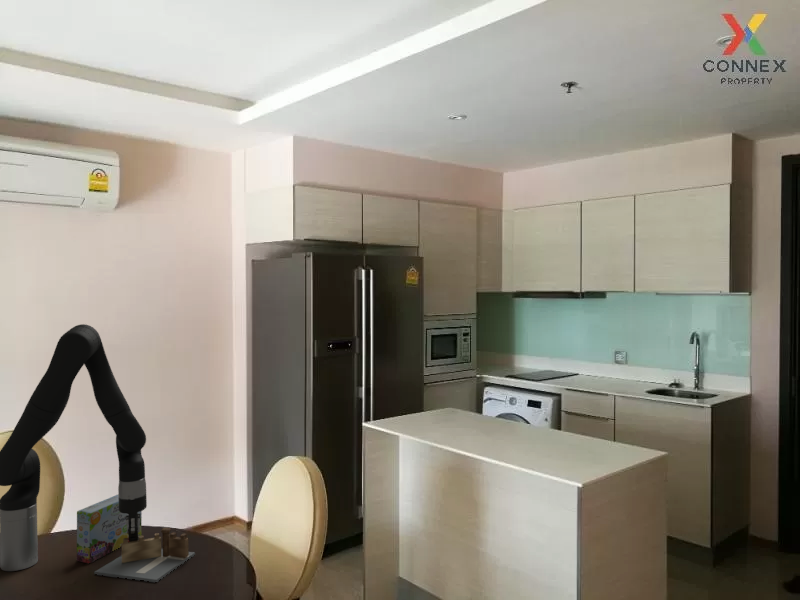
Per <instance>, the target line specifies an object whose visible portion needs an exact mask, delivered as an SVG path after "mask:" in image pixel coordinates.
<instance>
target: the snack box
mask: <svg viewBox="0 0 800 600" xmlns="http://www.w3.org/2000/svg"><path fill="white" fill-rule="evenodd" d="M142 512H143V511H139V512H138V514H140V532H139V533H138V535H139V536H142V521H143V520H142V518H143V517H142V514H143V513H142ZM126 515H129V514H127V513H125V514H124V513H121V512H120V511H119V495H118V494H116V495H114V496H110V497H109V498H106V499H103V500H101V501H98V502H96V503H94V504H91V505H89V506H87V507H84V508H82V509H78V510H77V511H76V561H77V562H81V563H86V564H89V563H90V564H92V563H93V562H95V560H96V561H97V559H98V560H100V558H103V557H105V556H107V555H108V553H109V554H110V552H111V553H112V551H113V552H115V551H117V550H119V549H120V547H121V546H122V544H121V543H123V539H124V538H129V535H128V534H127V525H126ZM139 536H138V537H139ZM128 542H130V541H129V540H128ZM118 548H119V549H118ZM121 548H122V547H121ZM116 549H117V550H116ZM114 550H115V551H114ZM106 554H107V555H106Z"/></svg>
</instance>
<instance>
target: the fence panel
mask: <svg viewBox="0 0 800 600" xmlns="http://www.w3.org/2000/svg"><path fill="white" fill-rule="evenodd" d="M121 544H122V547H121V556H122V563H125V562H131V561H136V560H142V559H148V558H154V557H159V556H161V549H162V536H160V533H159V532H156V533H154V537H150V538H145V537H144V535H141V536H139V539H138V540H137V541H131V542H128V538H124V539H123V543H121Z"/></svg>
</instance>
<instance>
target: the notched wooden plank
mask: <svg viewBox="0 0 800 600" xmlns="http://www.w3.org/2000/svg"><path fill="white" fill-rule="evenodd" d="M160 530H161V531H160V532H161V533H162V534H161V535H162V536H161V540H162V549H163V557H167V556H175V557H183V558H186V557H188V556H189V552H190V551H189V537H188V534H187V533H185V532H183V533H182V534H180V536H177V532H175V531H174V532H171V531H172V529H171V528H170V527H163V528H161V529H160ZM170 532H171V533H170Z"/></svg>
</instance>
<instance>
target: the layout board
mask: <svg viewBox="0 0 800 600" xmlns="http://www.w3.org/2000/svg"><path fill="white" fill-rule="evenodd" d="M194 555H195V556H196V552H195V551H189V556H188V557H186V558H183V557H175V556H167V557H163V548H161V556H159V557H154V558H148V559H142V560H136V561H131V562H125V563H122V555H119V557H117V558H115V559H113V560H112V561H110V562H108V563H107V564H104V565H103V566H102V567H100V568H99V569H96V570H94V575H95V574H97V575H96V576H102V575H103V576H105V577H110V578H117V577H119V578H120V579H125V578H127V580H132V579H135V580H134V581H140V580H144V581H143V582H147V581H149V582H148V583H155V582H157V583H159V582H160V581H161V580H163V579H164V578H166V577H167V576H168V575H169V574H171V573H172V572H174V571H175V570H176V569H177V567H178V566H179V567H181V566H182V565H184V564H185V563H186V562H188V561H189V560H190V559H192V558H193V557H195V556H194ZM191 557H192V558H191ZM188 559H189V560H188ZM187 560H188V561H187ZM185 561H186V562H185ZM184 562H185V563H184ZM181 564H182V565H181ZM180 565H181V566H180ZM179 567H178V568H179ZM174 569H175V570H174ZM173 570H174V571H173ZM171 571H172V572H171ZM170 572H171V573H170ZM167 574H168V575H167ZM166 575H167V576H166ZM163 577H164V578H163ZM160 579H161V580H160ZM159 580H160V581H159Z"/></svg>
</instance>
